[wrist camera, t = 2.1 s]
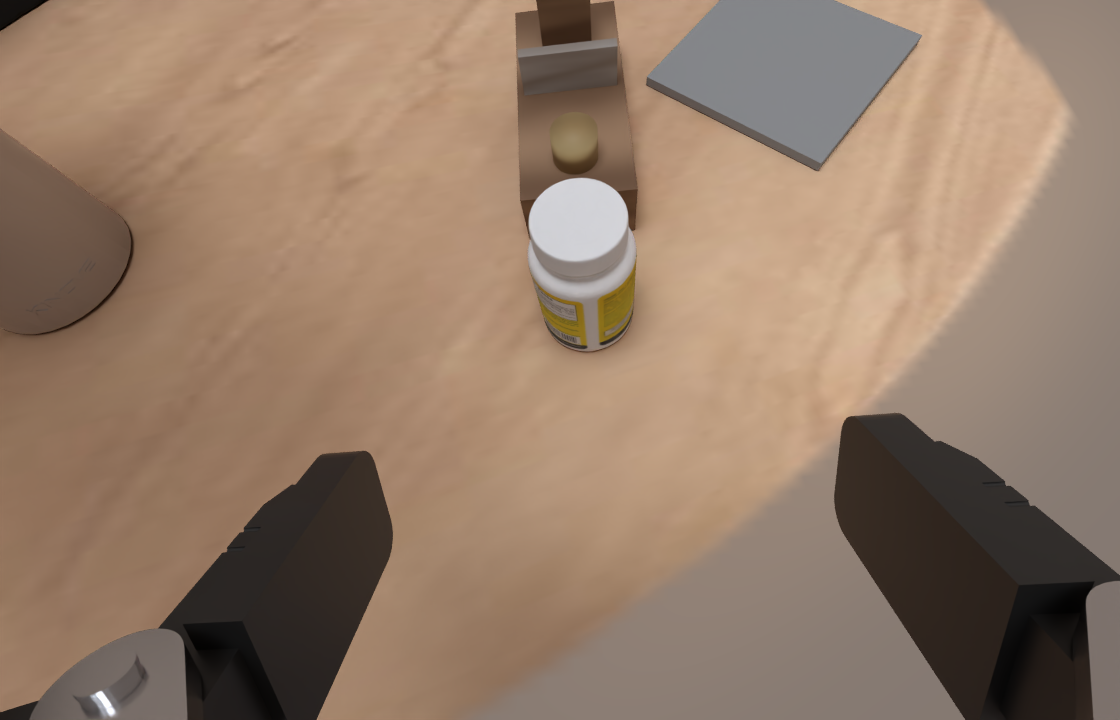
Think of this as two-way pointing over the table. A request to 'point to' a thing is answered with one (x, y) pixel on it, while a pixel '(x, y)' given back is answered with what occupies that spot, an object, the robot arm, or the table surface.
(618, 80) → the plane body
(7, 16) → the coral
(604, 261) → the supplement bottle
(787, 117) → the felt mat
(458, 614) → the table surface
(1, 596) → the table surface
